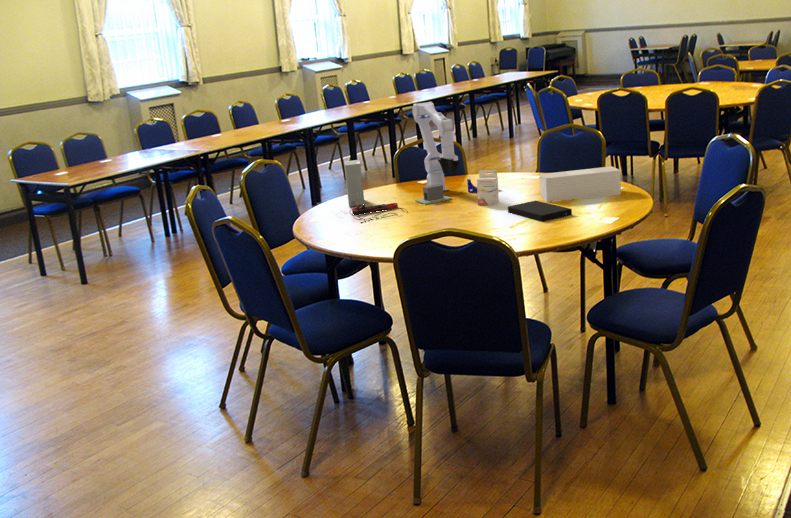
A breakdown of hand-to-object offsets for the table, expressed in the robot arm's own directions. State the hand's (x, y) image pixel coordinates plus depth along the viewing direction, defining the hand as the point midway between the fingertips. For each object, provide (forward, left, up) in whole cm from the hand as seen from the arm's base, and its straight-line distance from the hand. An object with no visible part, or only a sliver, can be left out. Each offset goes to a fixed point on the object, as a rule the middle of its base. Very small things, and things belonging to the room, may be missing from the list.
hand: (449, 174), depth 340 cm
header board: (+4, -12, -10) cm, 16 cm away
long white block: (+50, +36, -10) cm, 62 cm away
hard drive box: (-22, -40, -10) cm, 47 cm away
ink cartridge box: (+31, +1, -10) cm, 33 cm away
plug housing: (+4, -12, -9) cm, 15 cm away
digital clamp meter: (+9, -43, -11) cm, 45 cm away
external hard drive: (+63, +5, -10) cm, 64 cm away
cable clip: (+4, +14, -10) cm, 18 cm away
